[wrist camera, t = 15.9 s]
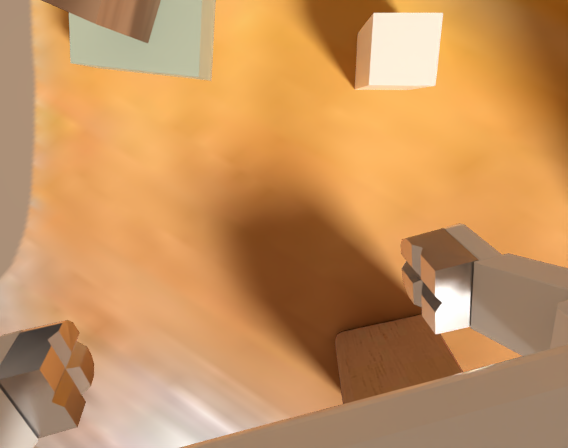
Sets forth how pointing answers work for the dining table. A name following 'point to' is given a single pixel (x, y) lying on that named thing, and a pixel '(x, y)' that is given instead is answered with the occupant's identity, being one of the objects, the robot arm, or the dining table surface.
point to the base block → (152, 42)
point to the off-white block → (398, 51)
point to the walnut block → (115, 14)
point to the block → (391, 357)
